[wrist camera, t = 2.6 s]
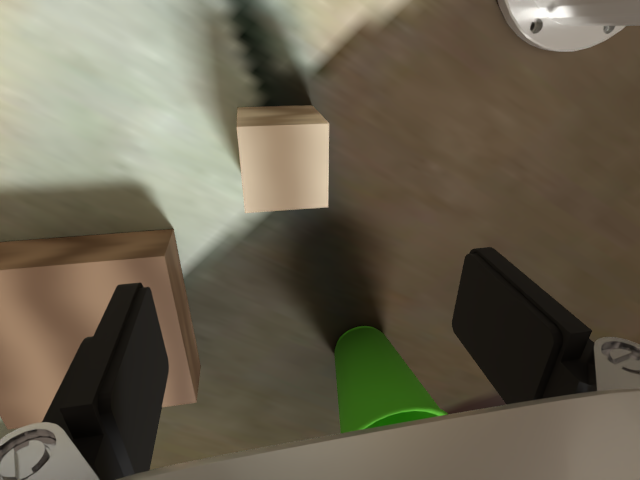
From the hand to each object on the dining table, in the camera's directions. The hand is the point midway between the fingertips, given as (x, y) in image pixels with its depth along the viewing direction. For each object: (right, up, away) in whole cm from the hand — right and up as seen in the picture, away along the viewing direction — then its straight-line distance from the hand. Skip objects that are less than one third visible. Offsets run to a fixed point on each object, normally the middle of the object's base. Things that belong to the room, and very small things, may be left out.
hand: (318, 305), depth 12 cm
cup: (+4, -8, +27) cm, 28 cm away
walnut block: (-18, -4, +20) cm, 27 cm away
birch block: (-3, +9, +16) cm, 18 cm away
